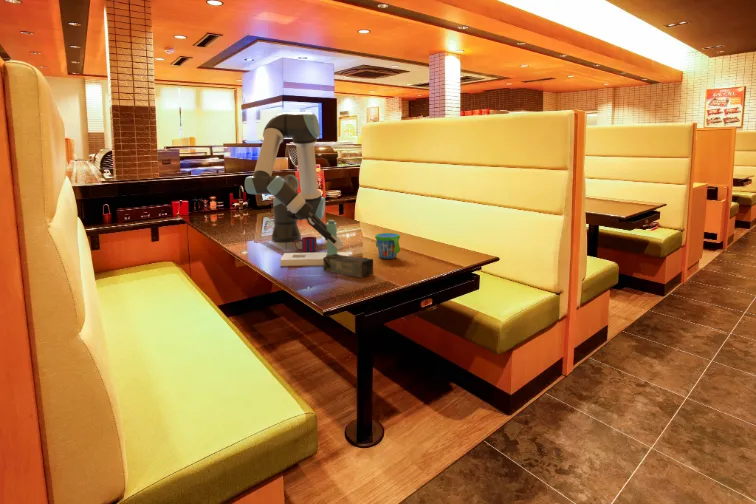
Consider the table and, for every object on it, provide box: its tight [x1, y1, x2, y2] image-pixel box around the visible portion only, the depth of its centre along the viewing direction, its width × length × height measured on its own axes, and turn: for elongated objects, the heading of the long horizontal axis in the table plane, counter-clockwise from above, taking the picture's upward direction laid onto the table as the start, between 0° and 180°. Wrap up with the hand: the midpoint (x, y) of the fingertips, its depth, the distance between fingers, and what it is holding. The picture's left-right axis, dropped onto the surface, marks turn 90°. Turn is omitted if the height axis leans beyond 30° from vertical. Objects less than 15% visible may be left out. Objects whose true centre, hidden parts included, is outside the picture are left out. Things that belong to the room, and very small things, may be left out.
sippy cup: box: [374, 232, 401, 260], centre depth 210 cm, size 16×10×10 cm
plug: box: [325, 219, 338, 255], centre depth 201 cm, size 4×4×16 cm
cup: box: [294, 236, 318, 253], centre depth 221 cm, size 7×10×7 cm
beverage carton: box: [322, 254, 374, 279], centre depth 187 cm, size 8×19×7 cm, turn 58°
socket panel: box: [280, 251, 350, 268], centre depth 203 cm, size 12×28×3 cm, turn 93°
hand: (341, 246), depth 202 cm, fingers closed on plug, 4 cm apart
